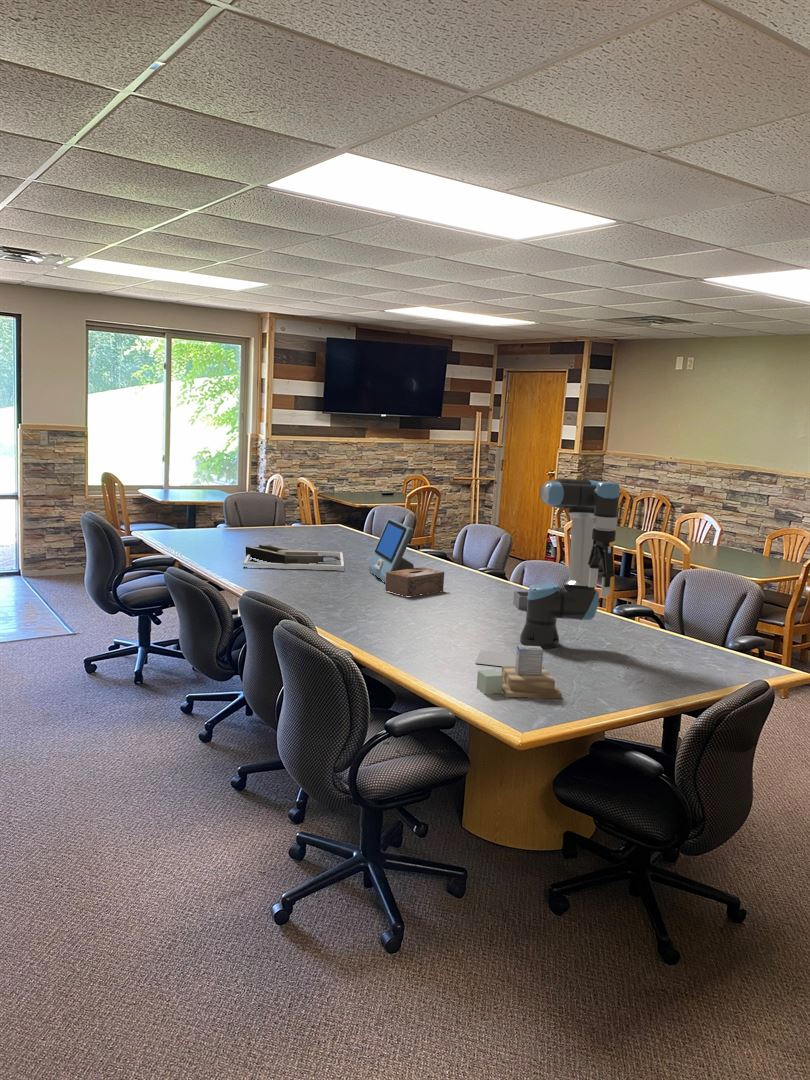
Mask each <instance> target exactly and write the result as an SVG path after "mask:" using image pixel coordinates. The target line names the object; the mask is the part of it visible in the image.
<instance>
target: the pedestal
mask: <svg viewBox="0 0 810 1080" xmlns="http://www.w3.org/2000/svg"><path fill="white" fill-rule="evenodd" d="M515 666H516V665H515ZM515 666H501V674H502V675H503V685H502V692H503V693H502V694H503V695H505V696H504V698H509V697H528V698H527V699H562V697H563V693H562V692H561V691H560V690H559V689H558V687H557V686H556V680H555V679H554V678H553V677H552V676H551V675H550V673H549V672H548V671H547V670H546V668H545V667H544V666H542V674H541V675H517V673H516V671H515Z"/></svg>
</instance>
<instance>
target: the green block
mask: <svg viewBox="0 0 810 1080" xmlns="http://www.w3.org/2000/svg"><path fill="white" fill-rule="evenodd" d="M476 679H477V680H476V689H477V690H478V691H479V690H480V691H479V692H481V693H482V692H483V693H484V694H483V693H482V694H483V695H485V694H487V695H494V694H493V693H499V694H503V693H502V685H503V675H502V673H500V672H499V671H498V670H496V669H483V670H477V678H476Z"/></svg>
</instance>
